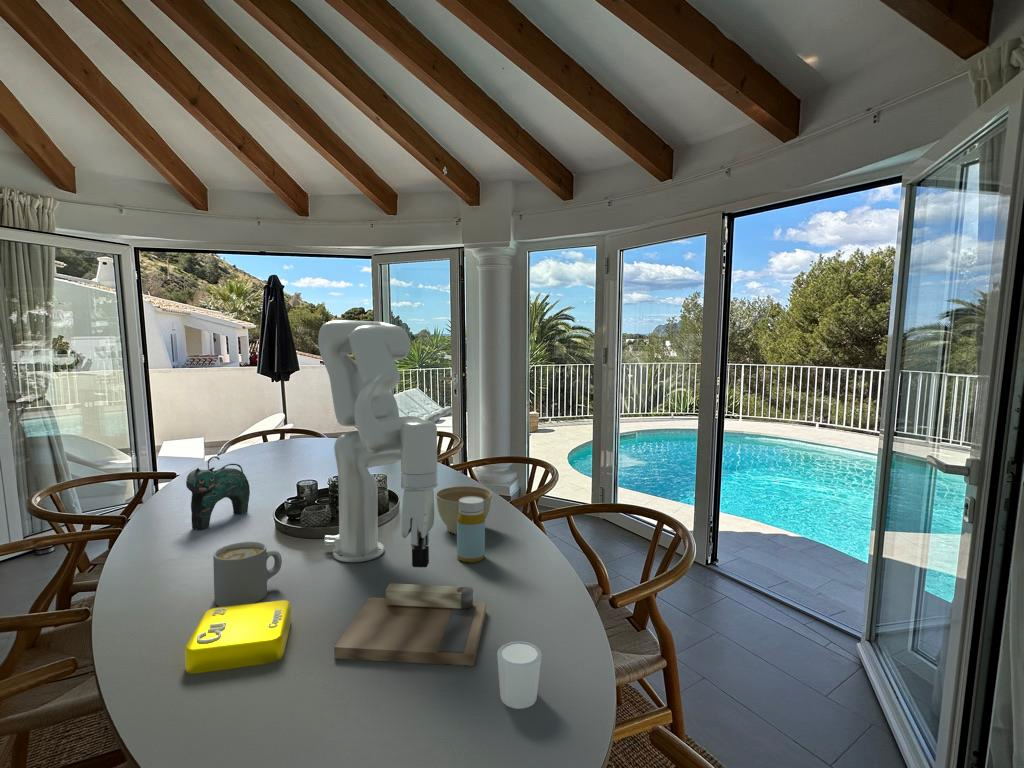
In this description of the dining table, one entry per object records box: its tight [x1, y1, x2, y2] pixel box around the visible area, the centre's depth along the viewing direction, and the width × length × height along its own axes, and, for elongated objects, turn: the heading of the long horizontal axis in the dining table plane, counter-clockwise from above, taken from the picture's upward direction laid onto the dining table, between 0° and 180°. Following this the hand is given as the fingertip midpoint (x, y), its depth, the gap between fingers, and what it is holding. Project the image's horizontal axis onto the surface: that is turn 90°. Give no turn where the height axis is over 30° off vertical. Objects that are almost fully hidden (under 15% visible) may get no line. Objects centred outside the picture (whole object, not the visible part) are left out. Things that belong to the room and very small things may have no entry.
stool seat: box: [333, 597, 487, 667], centre depth 99 cm, size 24×18×2 cm
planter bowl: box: [435, 485, 493, 535], centre depth 154 cm, size 16×16×11 cm
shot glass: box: [496, 640, 543, 710], centre depth 81 cm, size 7×7×7 cm
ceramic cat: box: [185, 456, 251, 531], centre depth 159 cm, size 20×6×20 cm, turn 161°
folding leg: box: [385, 582, 474, 609], centre depth 106 cm, size 17×3×3 cm, turn 86°
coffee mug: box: [212, 541, 283, 607], centre depth 113 cm, size 13×10×10 cm
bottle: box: [456, 496, 486, 564], centre depth 134 cm, size 7×7×15 cm
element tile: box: [184, 599, 292, 675], centre depth 95 cm, size 15×15×5 cm
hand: (420, 565), depth 112 cm, fingers closed
